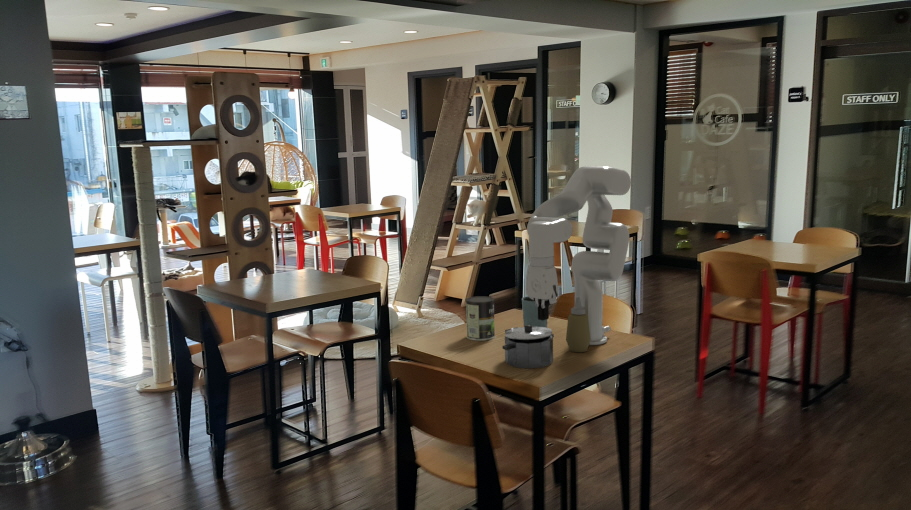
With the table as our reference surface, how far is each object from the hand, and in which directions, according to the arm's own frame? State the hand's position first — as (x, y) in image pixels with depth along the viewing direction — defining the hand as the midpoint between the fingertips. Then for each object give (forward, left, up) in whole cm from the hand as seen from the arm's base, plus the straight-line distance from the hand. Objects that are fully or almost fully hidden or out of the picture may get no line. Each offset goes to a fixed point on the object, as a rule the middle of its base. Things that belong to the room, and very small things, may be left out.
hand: (543, 319), depth 220 cm
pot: (+1, -6, -15) cm, 16 cm away
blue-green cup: (-27, -31, -15) cm, 44 cm away
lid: (+1, -6, -6) cm, 9 cm away
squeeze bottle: (-19, -3, -15) cm, 24 cm away
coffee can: (-6, -38, -15) cm, 41 cm away
